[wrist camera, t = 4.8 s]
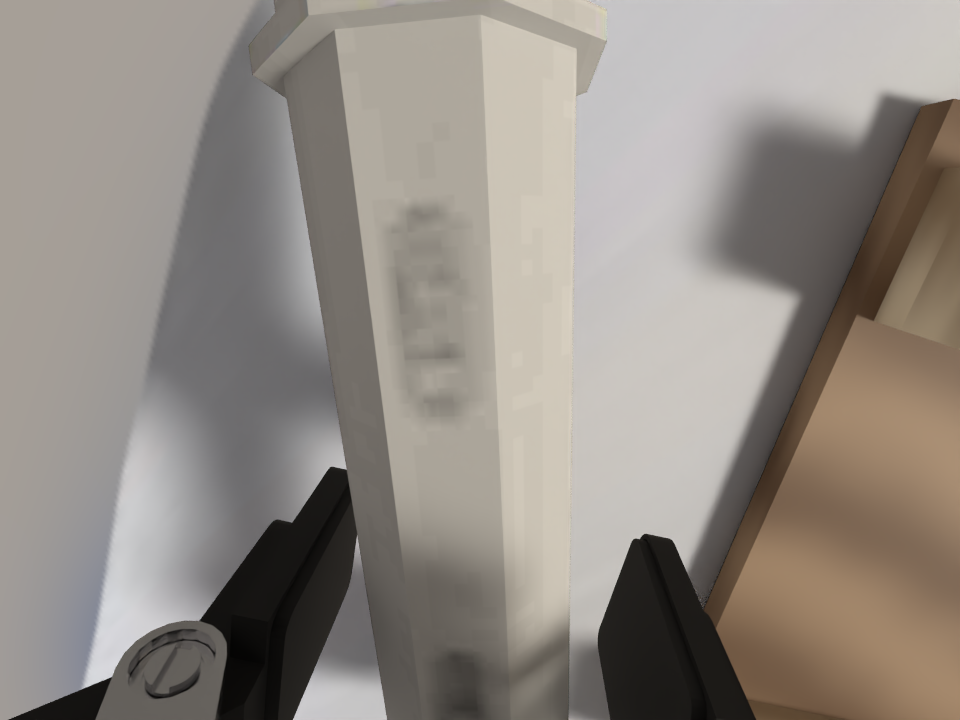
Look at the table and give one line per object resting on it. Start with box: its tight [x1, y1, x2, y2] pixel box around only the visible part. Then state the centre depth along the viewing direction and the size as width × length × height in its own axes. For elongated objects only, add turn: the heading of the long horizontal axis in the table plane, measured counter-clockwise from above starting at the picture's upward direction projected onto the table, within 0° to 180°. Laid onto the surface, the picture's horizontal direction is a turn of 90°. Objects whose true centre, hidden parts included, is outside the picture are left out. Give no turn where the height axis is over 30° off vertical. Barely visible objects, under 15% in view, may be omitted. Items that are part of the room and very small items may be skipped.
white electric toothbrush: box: [249, 0, 607, 720], centre depth 10 cm, size 5×7×25 cm
